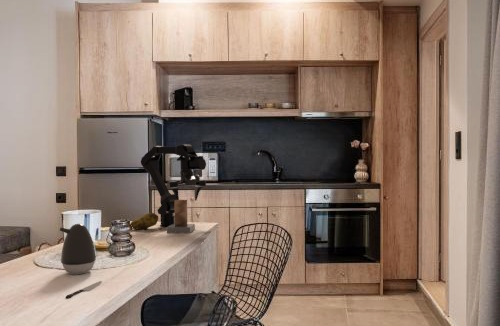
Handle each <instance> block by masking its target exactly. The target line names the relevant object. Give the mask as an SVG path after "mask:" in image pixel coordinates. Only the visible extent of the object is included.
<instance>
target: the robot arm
mask: <svg viewBox="0 0 500 326" xmlns="http://www.w3.org/2000/svg"><path fill="white" fill-rule="evenodd" d="M162 154H163V155H164V154H167V155H168V154H171V155H172V154H173V155H176V156H178V158H177V159H176V161H177V162H179V163H180V172H179V175H180V180H179V182H178V181H177V180H173V181H170V180H169V181H167V182H166V183H165V180H164V178H163V176H162V174H161V172H160V170H159V165H160V163H159V161H160V158H161V157H162ZM140 164H141V166H142V167H143V169H144V170H145V171H146V172H147V173H149V175H150V178H151V179H152V182H153V184H154V186H155V189H156V190H157V192H158V194H159V196H160V206H159V208H158V209H157V213H158V214H157V215H160V225H159V227H168V226H170V225H172V224H175V210H174V200H180V198H179V187H185V186H194V201H197V200H198V197H199V194H200V192H201V190H202V189H203V188H204V187H206V186H207V182H206V180H204V179H201V177H200V175H199V174H195V175H194V171H198V170H199V171H203V170H205V169H206V167H207V162H206V160H205V158H204V155H199V156H198V154H197V152H196V151H195V148H194V146H193V145H191V144H179V145H175V146H163V145H154V146H152V148H151V149H150V150H148V151H147V152H146V153H145V154H144V156H142V157H141V160H140ZM168 188H169V189H170V190H171V191H172V192H173V193H170V190H169V189H168Z"/></svg>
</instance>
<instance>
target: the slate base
mask: <svg viewBox="0 0 500 326" xmlns="http://www.w3.org/2000/svg"><path fill="white" fill-rule="evenodd" d="M195 227H196V225H195V223H187V226H175V224H172V225H170V226H166V233H169V234H174V233H175V234H177V233H178V234H179V233H180V234H182V233H183V234H187V233H188V234H191V233H192V232H193V231H195V230H196V229H195Z"/></svg>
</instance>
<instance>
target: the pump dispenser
mask: <svg viewBox="0 0 500 326" xmlns="http://www.w3.org/2000/svg"><path fill="white" fill-rule="evenodd" d="M59 231H60V232H63V233H65V238H64V240H63V244H62V248H61V258H60V263H61V264H62V267H63V269H64V270H65V272H67V273H68V274H71V275H83V274H86V273H89V272H90V271H91V270H92V269H93V267H94V265H95V262H96V259H97V257H96V256H97V255H96V249H95V243H94V241H93V238H92V235H91V234H90V232H89V229H88V228H87V227H86V225H84V224H83V223H82V224H81V223H76V224H72V225H71V227H70V228H67V227H61V226H60V227H59Z"/></svg>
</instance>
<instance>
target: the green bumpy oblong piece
mask: <svg viewBox="0 0 500 326" xmlns="http://www.w3.org/2000/svg"><path fill="white" fill-rule="evenodd" d="M158 221H159V216H158V214H156V213H154V212H149V213H148V212H147V213H145V214H143V215H142V216H140V217H138V218H136V219H134V220H131V222H130V226H131V225H132V227H133V228H132V230H148V229H149V228H150V227H153V226H156V225H157V223H158Z"/></svg>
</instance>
